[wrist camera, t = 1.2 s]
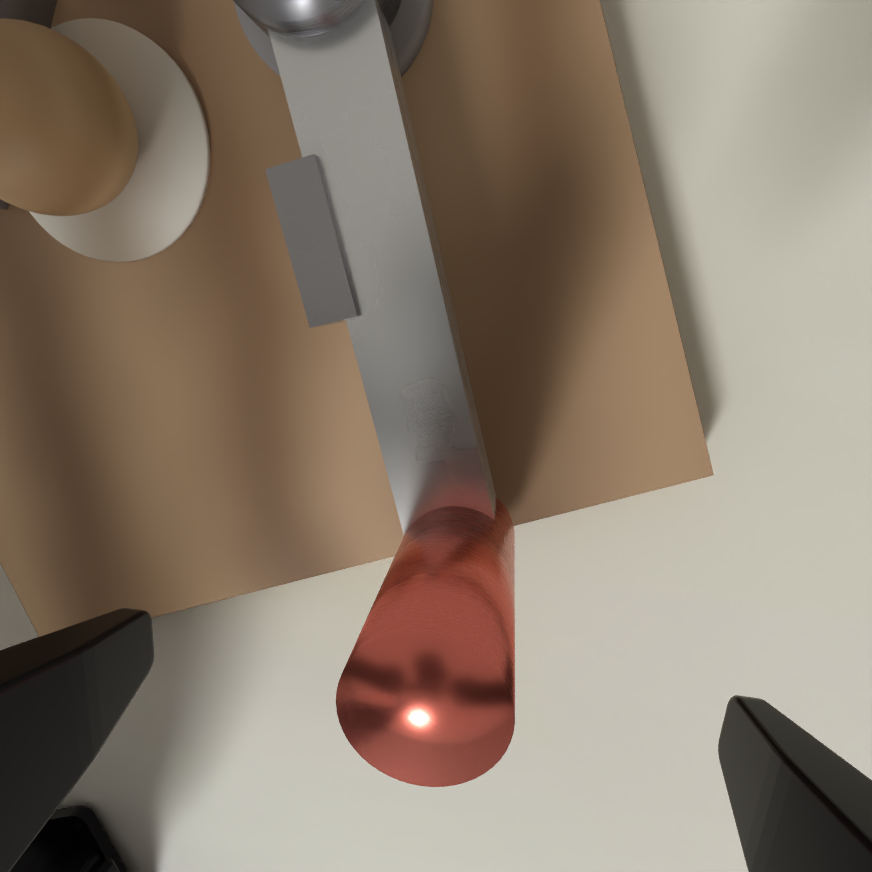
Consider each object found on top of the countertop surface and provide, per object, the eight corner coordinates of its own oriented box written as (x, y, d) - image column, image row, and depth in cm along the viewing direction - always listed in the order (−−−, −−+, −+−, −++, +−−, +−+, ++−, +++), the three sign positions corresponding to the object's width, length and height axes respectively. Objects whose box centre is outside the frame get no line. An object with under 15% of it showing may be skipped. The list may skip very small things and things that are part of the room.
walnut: (74, 245, 14) (-67, 231, 11) (8, 97, 13) (-164, 31, 10) (195, 194, 13) (85, 160, 10) (132, 35, 12) (-9, -60, 9)
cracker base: (72, 622, 19) (-29, 699, 15) (-204, 82, 15) (-415, 21, 12) (697, 460, 15) (754, 513, 11) (506, -323, 11) (502, -596, 8)
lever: (227, -82, 11) (-101, -507, 5) (384, -146, 11) (216, -710, 5) (408, 586, 14) (333, 796, 8) (538, 565, 14) (556, 776, 8)
